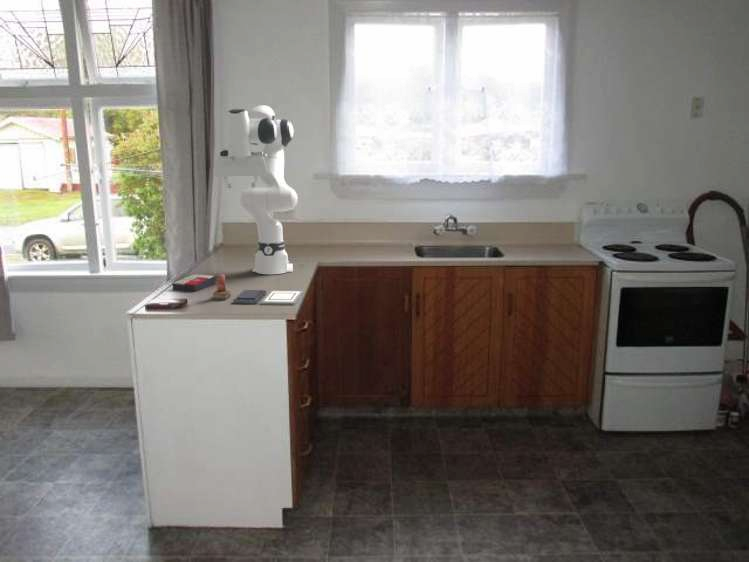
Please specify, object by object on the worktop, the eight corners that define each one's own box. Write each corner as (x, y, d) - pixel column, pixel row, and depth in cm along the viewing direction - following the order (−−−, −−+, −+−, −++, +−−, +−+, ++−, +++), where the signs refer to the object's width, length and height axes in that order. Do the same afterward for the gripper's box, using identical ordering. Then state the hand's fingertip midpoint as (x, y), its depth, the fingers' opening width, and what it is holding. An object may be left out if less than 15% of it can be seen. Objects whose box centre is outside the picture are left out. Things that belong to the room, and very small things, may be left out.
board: (271, 292, 248) (271, 290, 248) (303, 292, 247) (303, 290, 247) (260, 304, 231) (260, 301, 230) (294, 304, 230) (294, 302, 230)
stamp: (218, 296, 244) (216, 273, 242) (230, 296, 243) (229, 273, 241) (213, 299, 238) (211, 276, 236) (226, 300, 238) (224, 276, 235)
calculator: (171, 282, 252) (193, 272, 266) (172, 292, 254) (194, 282, 267) (194, 284, 249) (215, 274, 263) (195, 294, 250) (216, 284, 264)
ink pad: (243, 294, 246) (243, 289, 245) (266, 294, 245) (265, 289, 245) (233, 303, 232) (233, 298, 232) (257, 303, 232) (256, 298, 231)
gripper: (265, 151, 245) (267, 186, 248) (212, 152, 240) (215, 187, 243) (267, 151, 239) (268, 187, 242) (212, 152, 234) (215, 188, 237)
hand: (241, 187), depth 243 cm, fingers open, 8 cm apart
